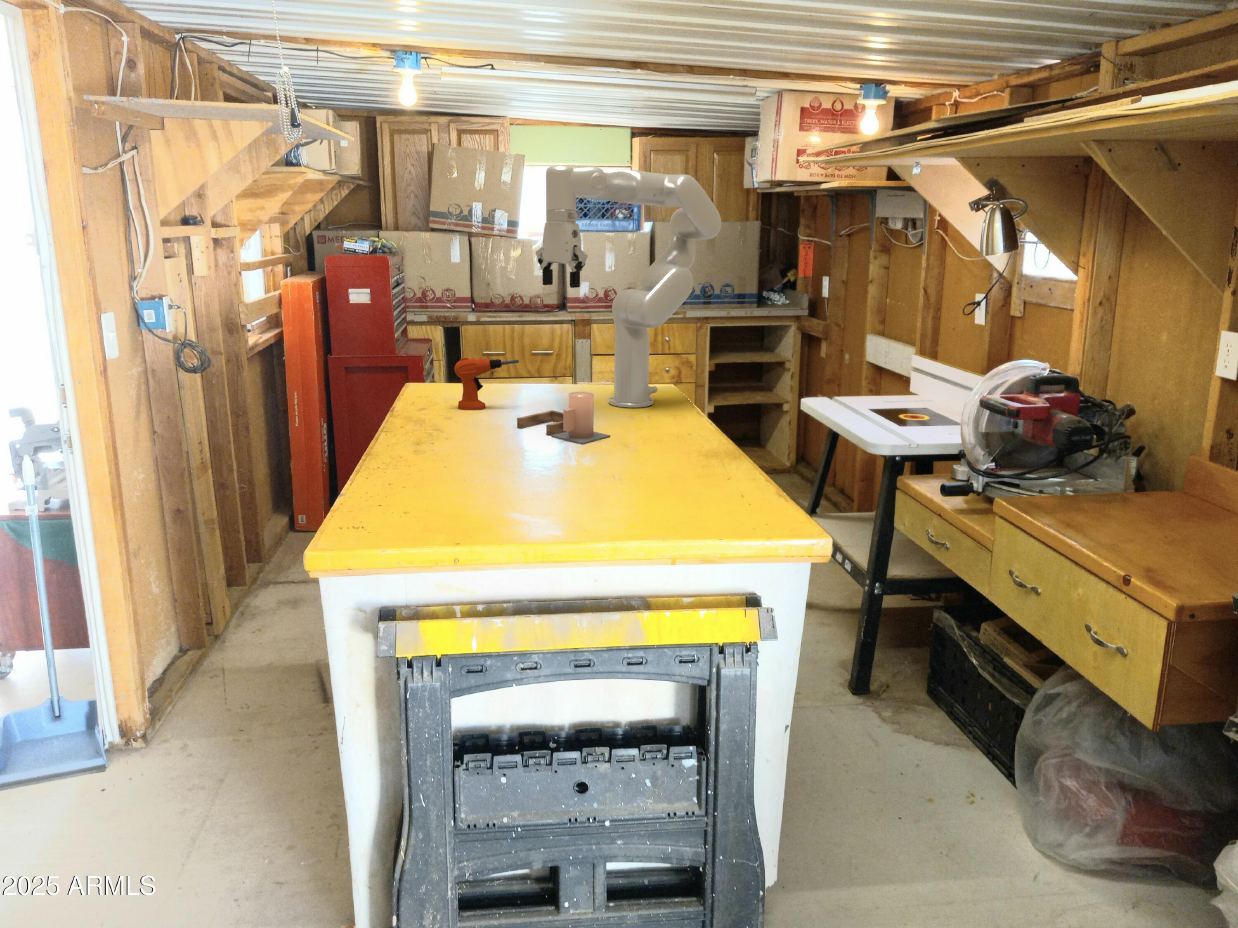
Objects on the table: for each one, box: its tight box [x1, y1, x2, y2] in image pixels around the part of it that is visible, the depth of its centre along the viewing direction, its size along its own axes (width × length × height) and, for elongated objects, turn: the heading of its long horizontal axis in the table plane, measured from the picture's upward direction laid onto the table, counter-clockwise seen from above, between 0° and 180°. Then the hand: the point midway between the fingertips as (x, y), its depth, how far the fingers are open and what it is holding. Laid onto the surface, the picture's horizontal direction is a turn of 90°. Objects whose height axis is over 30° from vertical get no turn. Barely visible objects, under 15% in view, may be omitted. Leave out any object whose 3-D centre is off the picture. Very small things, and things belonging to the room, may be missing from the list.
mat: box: [550, 431, 611, 445], centre depth 220 cm, size 10×10×1 cm
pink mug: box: [563, 391, 595, 438], centre depth 218 cm, size 8×6×10 cm
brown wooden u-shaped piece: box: [516, 409, 567, 436], centre depth 229 cm, size 12×11×2 cm
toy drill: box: [453, 356, 520, 411], centre depth 248 cm, size 5×18×14 cm, turn 96°
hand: (561, 286), depth 237 cm, fingers open, 9 cm apart
